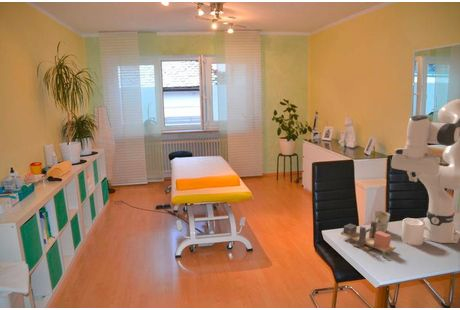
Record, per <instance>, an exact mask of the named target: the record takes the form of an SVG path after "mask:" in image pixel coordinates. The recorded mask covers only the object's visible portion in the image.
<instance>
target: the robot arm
mask: <svg viewBox="0 0 460 310" xmlns="http://www.w3.org/2000/svg"><path fill="white" fill-rule="evenodd" d="M429 118H430V117H428V116H427V115H421V114H419V115H413V116H411V117H409V120H408V123H407V127H406V128H407V129H406V142H405V145H404V147H399V148H394V150H393V153H394V154H392V158H391V161H390V167H391V169H395V170H400V171H401V170H402V171H406V173H407V176H408V181H410V182H414V183H417V182H418V181H420V182H421V184H423V186H424V187H425V189H426V191H427V194H428V209H427V211H426V217H425V218H424V219H423V220H422V221H423V222H424V223H425V227H429V228H430V230H431V239H430V240H429V241H432V242H435V243H441V244H458V243H459V241H460V231H459V230H457V228H458V224H457V223H456V222H455V220H454V219H455V218H454V217H455V214H456V212H455V211H454V205H455V200H454V198H453V197H452V196H451V195H450V194H449V193H448V192H447V191H446V190H445V189H449V190H453V191H460V98H457V99H453V100H451V101H449V102H447V103H446V104H444V105H443V106H442V107H441V108H440V109H439V111H438V113H437V119H438V121H439V122H433V121H430V119H429ZM428 144H433V145H441V146H446V147H445V149H444V150H443V153H442V159H443V160H444V162H445V163H447V164H448V165H446V166H445V165H440V163H441V157H440V156H439V155H438V154H435V153H434V154H433V153H428ZM413 173H415V176H413V175H412V174H413ZM429 236H430V233H429V230H426V229H424V237H423V238H429Z"/></svg>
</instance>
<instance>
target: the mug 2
mask: <svg viewBox="0 0 460 310" xmlns="http://www.w3.org/2000/svg"><path fill="white" fill-rule="evenodd" d="M423 221H424V220H421V219H418V218H413V217H412V218H410V217H406V218H404V219H402V224H401V235H400V240H401V241H402V242H403V243H405V244H407V245H411V246H420V245H421V246H422V245H423V244H424V241H425V242H430V241H431V240H430V239H431V230H430V228H429V227H425V223H424V222H423ZM424 229H426V230H429V233H430V236H429V238H425V237H424Z"/></svg>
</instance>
